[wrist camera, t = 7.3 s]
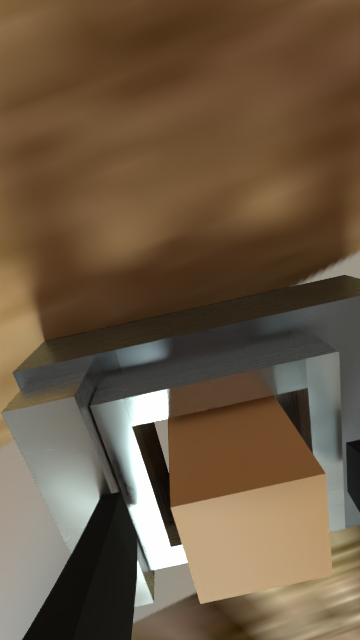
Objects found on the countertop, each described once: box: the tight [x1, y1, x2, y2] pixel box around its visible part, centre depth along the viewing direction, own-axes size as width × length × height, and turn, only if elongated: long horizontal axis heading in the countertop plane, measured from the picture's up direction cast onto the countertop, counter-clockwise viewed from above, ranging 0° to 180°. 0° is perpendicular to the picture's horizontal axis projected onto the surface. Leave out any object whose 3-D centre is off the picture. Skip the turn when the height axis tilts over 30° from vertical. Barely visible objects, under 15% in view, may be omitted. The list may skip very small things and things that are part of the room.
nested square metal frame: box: [1, 275, 360, 607], centre depth 11 cm, size 12×10×4 cm
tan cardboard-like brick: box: [168, 395, 332, 604], centre depth 10 cm, size 4×4×6 cm
